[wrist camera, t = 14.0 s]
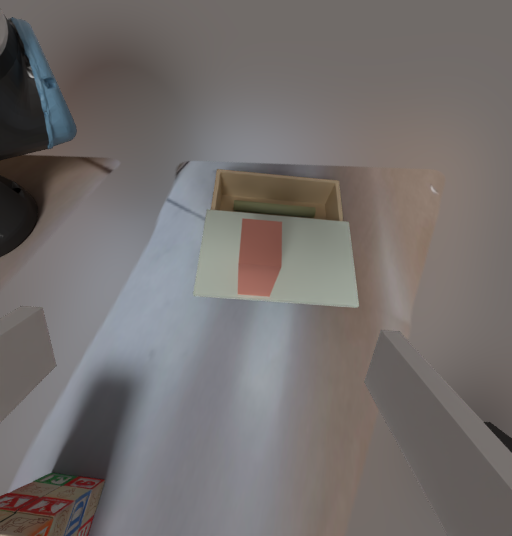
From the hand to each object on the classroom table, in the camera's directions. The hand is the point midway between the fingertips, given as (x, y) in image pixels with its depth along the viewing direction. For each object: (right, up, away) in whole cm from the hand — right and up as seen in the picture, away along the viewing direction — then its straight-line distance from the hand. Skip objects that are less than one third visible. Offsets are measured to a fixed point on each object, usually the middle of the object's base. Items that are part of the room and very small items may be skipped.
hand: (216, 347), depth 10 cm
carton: (+4, +10, +34) cm, 36 cm away
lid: (+5, +5, +25) cm, 26 cm away
